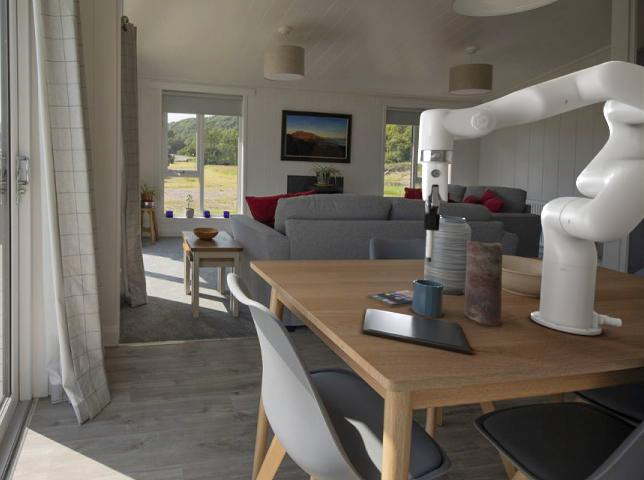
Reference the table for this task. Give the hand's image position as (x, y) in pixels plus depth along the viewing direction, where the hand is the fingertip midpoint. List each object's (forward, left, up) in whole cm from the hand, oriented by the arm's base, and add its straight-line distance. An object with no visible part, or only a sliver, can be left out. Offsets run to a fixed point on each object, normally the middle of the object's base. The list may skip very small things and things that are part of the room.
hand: (431, 229), depth 101 cm
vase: (-7, -26, -22) cm, 35 cm away
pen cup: (0, 0, -22) cm, 22 cm away
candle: (-12, -1, -22) cm, 25 cm away
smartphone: (+6, -8, -22) cm, 25 cm away
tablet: (+4, +15, -22) cm, 27 cm away
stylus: (0, 0, -9) cm, 9 cm away
